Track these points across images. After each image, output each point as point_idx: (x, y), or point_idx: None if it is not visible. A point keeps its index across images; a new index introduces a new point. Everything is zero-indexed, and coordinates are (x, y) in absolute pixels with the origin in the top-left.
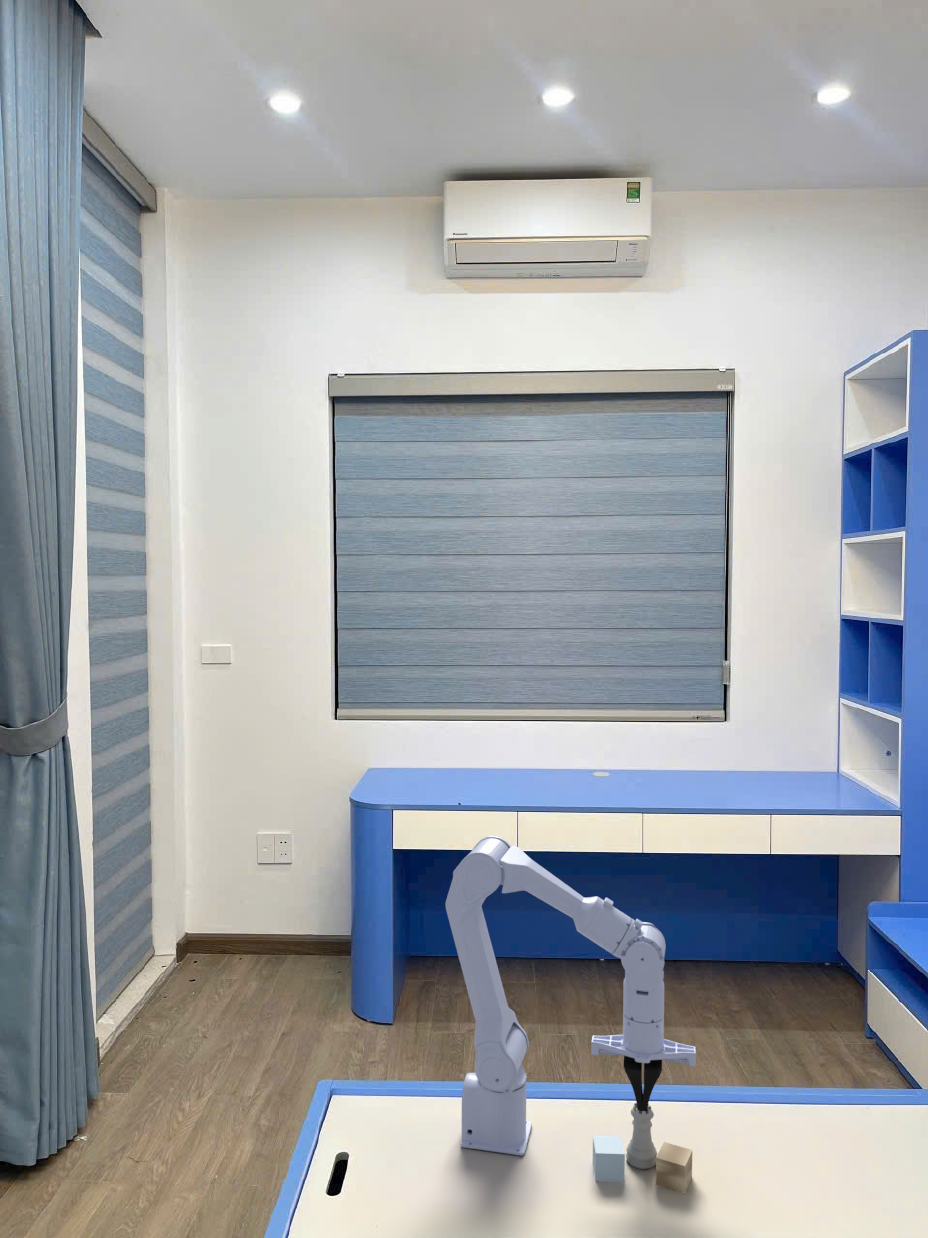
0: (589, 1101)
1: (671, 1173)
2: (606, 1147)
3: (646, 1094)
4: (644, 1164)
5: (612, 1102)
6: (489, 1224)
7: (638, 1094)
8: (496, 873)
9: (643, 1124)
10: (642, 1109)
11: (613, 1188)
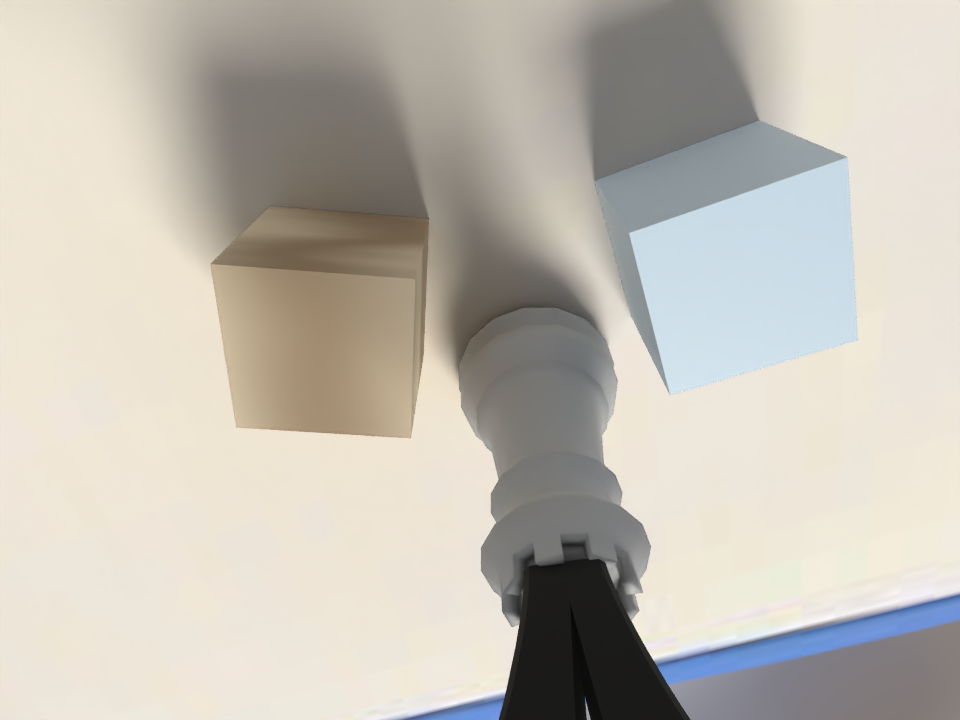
0: (794, 620)
1: (322, 243)
2: (764, 257)
3: (542, 715)
4: (510, 326)
5: (701, 639)
6: None
7: (628, 695)
8: None
9: (541, 484)
10: (563, 572)
11: (648, 96)
